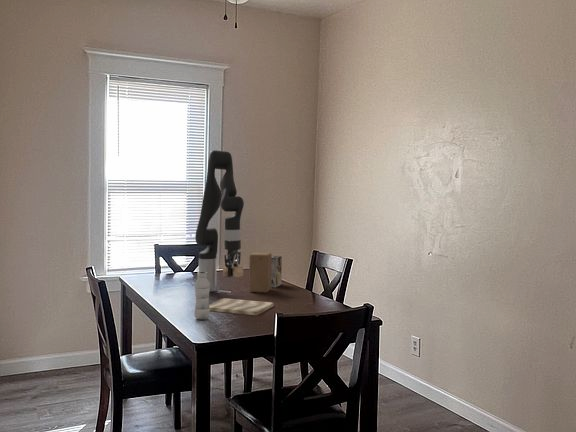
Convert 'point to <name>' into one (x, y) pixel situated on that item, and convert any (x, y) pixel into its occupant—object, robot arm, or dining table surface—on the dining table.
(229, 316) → the dining table surface
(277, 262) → the coffee box
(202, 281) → the plastic bottle
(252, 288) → the wooden block
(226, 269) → the block
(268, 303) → the board
